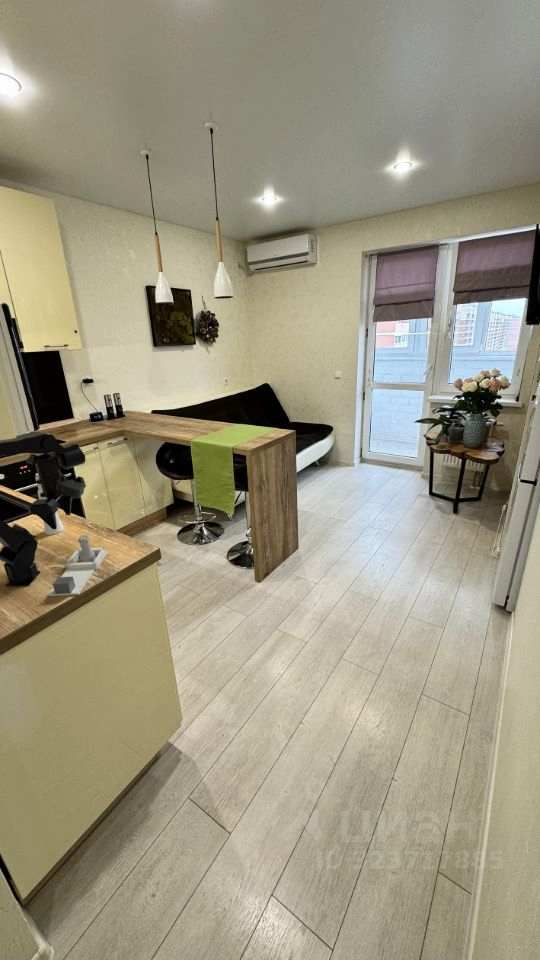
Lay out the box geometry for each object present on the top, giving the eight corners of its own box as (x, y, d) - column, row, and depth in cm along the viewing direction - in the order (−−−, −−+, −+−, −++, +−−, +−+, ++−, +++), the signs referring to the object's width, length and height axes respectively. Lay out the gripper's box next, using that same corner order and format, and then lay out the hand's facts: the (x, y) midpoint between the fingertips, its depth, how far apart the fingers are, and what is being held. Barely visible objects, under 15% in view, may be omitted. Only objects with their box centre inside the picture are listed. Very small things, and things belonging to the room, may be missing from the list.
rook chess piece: (77, 561, 116) (72, 538, 113) (90, 554, 120) (85, 532, 117) (86, 565, 114) (81, 542, 111) (99, 558, 118) (94, 535, 115)
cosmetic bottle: (44, 536, 131) (28, 478, 123) (45, 529, 136) (29, 472, 128) (63, 532, 134) (49, 474, 125) (63, 525, 139) (49, 469, 130)
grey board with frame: (46, 596, 101) (42, 584, 99) (78, 554, 120) (76, 544, 118) (80, 594, 101) (77, 582, 100) (107, 552, 120) (104, 542, 119)
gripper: (63, 485, 101) (75, 535, 107) (90, 462, 118) (99, 507, 124) (20, 486, 100) (35, 537, 106) (54, 464, 118) (65, 508, 124)
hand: (61, 521), depth 115 cm, fingers open, 9 cm apart
